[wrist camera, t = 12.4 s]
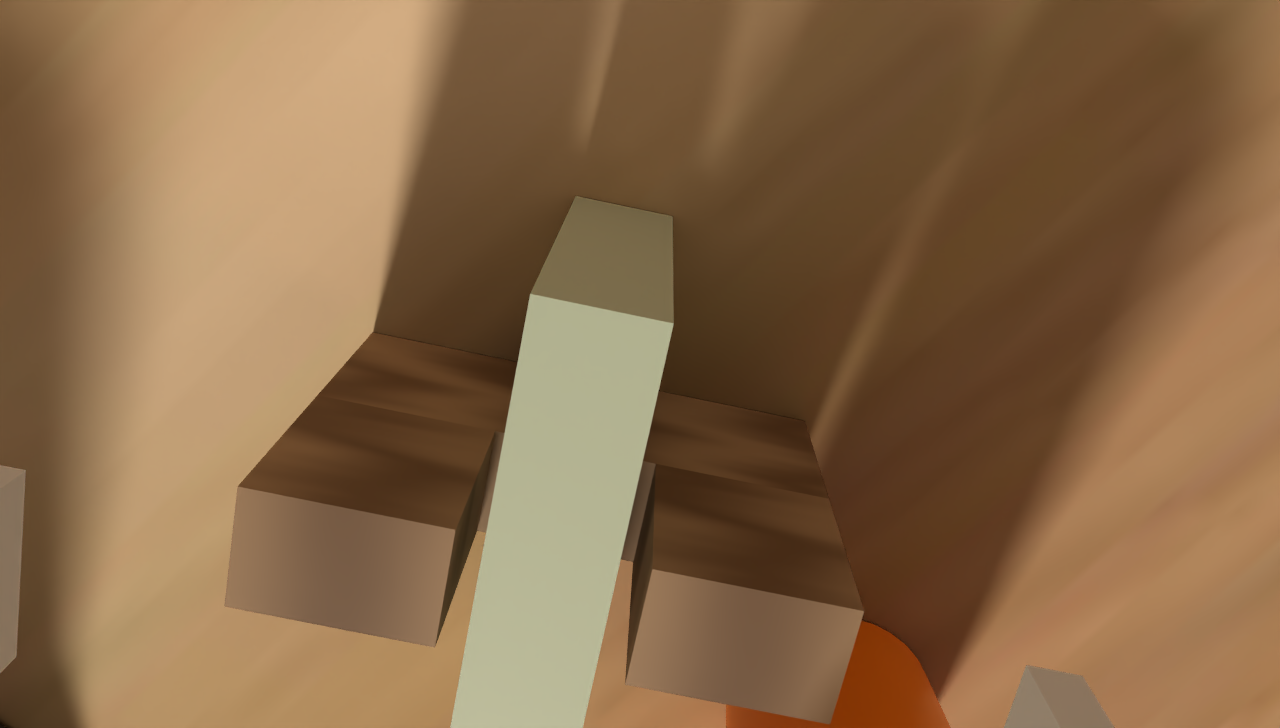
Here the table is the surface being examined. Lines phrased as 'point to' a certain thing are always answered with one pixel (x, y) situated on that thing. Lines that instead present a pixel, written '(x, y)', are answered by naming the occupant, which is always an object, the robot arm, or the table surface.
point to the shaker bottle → (867, 691)
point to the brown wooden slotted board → (460, 506)
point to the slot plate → (568, 468)
